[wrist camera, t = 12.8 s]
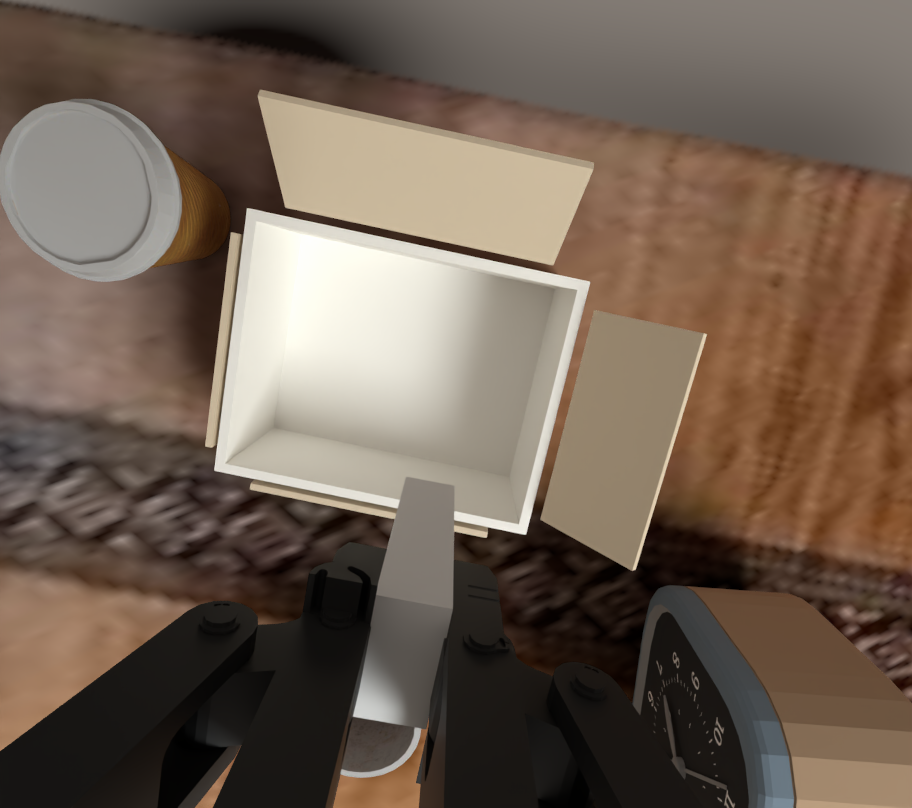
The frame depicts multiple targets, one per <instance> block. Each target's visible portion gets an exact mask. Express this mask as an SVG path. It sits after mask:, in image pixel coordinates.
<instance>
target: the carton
mask: <svg viewBox="0 0 912 808" xmlns="http://www.w3.org/2000/svg"><path fill="white" fill-rule="evenodd" d="M589 285H590V282H589V281H584V280H579V279H575V278H570V277H565V276H561V275H556V274H552V273H547V272H542V271H538V270H533V269H528V268H524V267H519V266H514V265H510V264H505V263H500V262H496V261H491V260H486V259H482V258H477V257H473V256H468V255H463V254H459V253H454V252H449V251H445V250H440V249H435V248H431V247H426V246H421V245H417V244H412V243H408V242H403V241H398V240H394V239H389V238H384V237H380V236H375V235H370V234H366V233H361V232H356V231H352V230H347V229H343V228H338V227H333V226H329V225H324V224H319V223H315V222H310V221H305V220H301V219H296V218H291V217H287V216H282V215H278V214H273V213H268V212H264V211H259V210H254V209H250V208H247V212H246V220H245V228H244V235H242V234H237V233H233V232H231V236H230V244H229V252H228V261H227V269H226V277H225V286H224V294H223V302H222V311H221V319H220V327H219V336H218V344H217V352H216V361H215V369H214V377H213V386H212V394H211V402H210V411H209V419H208V427H207V435H206V444H205V446H206V447H211V448H212V447H213V446H215V445H216V444H218V445H217V453H216V461H215V469H214V471H218V472H223V473H228V474H233V475H238V476H243V477H247V478H252V479H255V480H254V481H253V482H252V483H251V485H250V489H251V490H256V491H260V492H265V493H270V494H275V495H280V496H285V497H290V498H294V499H299V500H304V501H309V502H314V503H319V504H324V505H328V506H333V507H338V508H343V509H348V510H353V511H358V512H362V513H367V514H372V515H377V516H382V517H387V518H392V519H395V517H396V513H397V509H398V505H399V501H400V497H401V494H402V490H403V486H404V482H405V478H406V477H411V478H416V479H422V480H427V481H432V482H437V483H442V484H448V485H453V486H455V496H454V531H455V532H459V533H464V534H469V535H474V536H479V537H484V538H487V534H488V527H490V528H495V529H499V530H504V531H509V532H514V533H519V534H524V535H526V533H527V529H528V525H529V521H530V517H531V513H532V509H533V506H534V502H535V498H536V494H537V490H538V486H539V482H540V478H541V474H542V470H543V466H544V462H545V458H546V454H547V450H548V446H549V443H550V439H551V435H552V431H553V427H554V423H555V419H556V415H557V411H558V407H559V403H560V399H561V395H562V391H563V387H564V383H565V380H566V376H567V372H568V368H569V364H570V360H571V356H572V352H573V348H574V344H575V340H576V336H577V332H578V328H579V324H580V321H581V317H582V313H583V309H584V305H585V301H586V297H587V293H588V289H589Z"/></svg>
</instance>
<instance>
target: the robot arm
mask: <svg viewBox="0 0 912 808" xmlns="http://www.w3.org/2000/svg"><path fill="white" fill-rule="evenodd" d="M454 496H455V486H453V485H448V484H442V483H437V482H432V481H427V480H422V479H416V478H411V477H406V478H405V482H404V486H403V490H402V494H401V497H400V501H399V505H398V509H397V513H396V517H395V520H394V524H393V528H392V532H391V536H390V540H389V543H388V547H387V549H384V548H379V547H373V546H368V545H363V544H357V543H352V542H349V543H348V544H346V545H345V546H343V547H341V548H340V549H338V550H337V552H336V554H335V557H334V559H333V561H332V562H330V563H324V564H321V565H319V566H317V567H315V568H314V569H313V570H312V571H311V572H310V573H309V577H308V583H307V589H306V595H305V602H304V608H303V613H302V615H301V617H300V618H298V619H296V620H294V621H290V622H287V623H281V624H267V625H258V617H257V615H256V614H255V613H254V611H253V610H252V609H250V608H249V607H247V606H245V605H243V604H240V603H235V602H231V601H213V602H209V603H205V604H200V605H198V606H196V607H194V608H192V609H191V610H189V611H187V612H186V613H184V614H183V615H182V616H180V617H179V618H178V619H176V620H175V621H174V622H172V623H171V624H170V625H168V626H167V627H166V628H164V629H163V630H162V631H160V632H159V633H158V634H156V635H155V636H154V637H152V638H151V639H150V640H148V641H147V642H146V643H144V644H143V645H142V646H140V647H139V648H138V649H136V650H135V651H134V652H132V653H131V654H130V655H128V656H127V657H126V658H124V659H123V660H122V661H120V662H119V663H118V664H116V665H115V666H114V667H112V668H111V669H110V670H108V671H107V672H106V673H104V674H103V675H102V676H100V677H99V678H98V679H96V680H95V681H94V682H92V683H91V684H90V685H88V686H87V687H86V688H84V689H83V690H81V691H80V692H79V693H77V694H76V695H75V696H73V697H72V698H71V699H69V700H68V701H67V702H65V703H64V704H63V705H61V706H60V707H59V708H57V709H56V710H55V711H53V712H52V713H51V714H49V715H48V716H47V717H45V718H44V719H43V720H41V721H40V722H39V723H37V724H36V725H35V726H33V727H32V728H31V729H29V730H28V731H27V732H25V733H24V734H23V735H21V736H20V737H19V738H17V739H16V740H15V741H13V742H12V743H11V744H9V745H8V746H7V747H5V748H4V749H3V750H1V751H0V808H195V807H196V805H197V804H198V803H199V802H200V800H201V799H202V798H203V797H204V795H205V794H206V793H207V792H208V790H209V789H210V788H211V787H212V785H213V784H214V783H215V781H216V780H217V779H218V778H219V776H220V775H221V774H222V773H223V771H224V770H225V769H226V768H227V766H228V765H229V764H230V763H231V761H232V760H233V759H234V758H235V756H236V754H237V752H238V750H239V748H240V746H241V748H240V750H239V752H238V754H237V756H236V758H235V761H234V763H233V765H232V767H231V769H230V772H229V774H228V776H227V778H226V780H225V782H224V785H223V787H222V789H221V791H220V793H219V795H218V798H217V800H216V802H215V804H214V806H213V808H333V804H334V800H335V795H336V791H337V787H338V783H339V778H340V774H341V770H342V765H343V761H344V757H345V752H346V748H347V744H348V740H349V735H350V730H351V724H352V719H353V717H358V718H364V719H370V720H375V721H381V722H387V723H393V724H398V725H404V726H410V727H415V728H421V729H426V727H427V723H428V718H429V727H428V732H427V736H426V740H425V745H424V749H423V754H422V758H421V763H420V767H419V772H418V776H417V781H416V783H419V784H421V788H420V801H419V808H704V807H703V806H702V804H701V803H700V801H699V800H698V799H697V797H696V796H695V794H694V793H693V791H692V790H691V788H690V787H689V786H688V784H687V783H686V781H685V780H684V778H683V777H682V775H681V774H680V772H679V771H678V770H677V768H676V767H675V765H674V764H673V762H672V761H671V759H670V758H669V757H668V755H667V754H666V752H665V751H664V749H663V748H662V746H661V745H660V744H659V742H658V741H657V739H656V738H655V736H654V735H653V733H652V732H651V731H650V729H649V728H648V726H647V725H646V723H645V722H644V720H643V719H642V718H641V716H640V715H639V713H638V712H637V710H636V709H635V707H634V706H633V705H632V703H631V702H630V700H629V699H628V697H627V696H626V694H625V693H624V691H623V690H622V689H621V687H620V686H619V685H618V684H617V683H616V682H615V681H614V679H613V678H612V677H611V676H609V675H608V674H606V673H605V672H603V671H602V670H600V669H598V668H596V667H594V666H591V665H588V664H585V663H578V662H568V663H562V664H561V665H560V666H558V667H557V668H555V672H554V675H553V676H550V675H548V674H545V673H543V672H541V671H538V670H536V669H534V668H532V667H530V666H528V665H526V664H524V663H523V662H522V661H520V660H519V659H517V658H516V653H515V649H514V646H513V644H512V642H511V640H510V639H509V638H508V637H507V636H506V635H505V634H504V631H503V623H502V616H501V608H500V603H499V593H498V585H497V578H496V577H495V576H494V574H493V573H492V572H491V570H490V569H489V568H488V567H487V566H483V565H478V564H473V563H467V562H462V561H457V560H454Z"/></svg>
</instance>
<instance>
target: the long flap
mask: <svg viewBox="0 0 912 808" xmlns="http://www.w3.org/2000/svg"><path fill="white" fill-rule="evenodd" d="M258 100H259V104H260V108H261V112H262V116H263V120H264V124H265V128H266V132H267V136H268V140H269V144H270V148H271V152H272V156H273V160H274V164H275V168H276V172H277V176H278V180H279V184H280V188H281V192H282V196H283V200H284V204H285V208H289V209H294V210H298V211H303V212H308V213H312V214H317V215H322V216H326V217H331V218H336V219H340V220H345V221H349V222H354V223H359V224H363V225H368V226H373V227H377V228H382V229H387V230H391V231H396V232H400V233H405V234H410V235H414V236H419V237H424V238H428V239H433V240H438V241H442V242H447V243H451V244H456V245H461V246H465V247H470V248H475V249H479V250H484V251H489V252H493V253H498V254H503V255H507V256H512V257H516V258H521V259H526V260H530V261H535V262H540V263H544V264H549V265H554V262H555V260H556V257H557V255H558V253H559V250H560V248H561V245H562V243H563V241H564V238H565V236H566V233H567V231H568V229H569V226H570V224H571V222H572V219H573V217H574V214H575V212H576V210H577V207H578V205H579V202H580V200H581V198H582V195H583V193H584V190H585V188H586V186H587V183H588V181H589V178H590V176H591V174H592V171H593V168H594V163H593V162H588V161H584V160H579V159H575V158H570V157H566V156H561V155H556V154H552V153H547V152H543V151H538V150H534V149H529V148H525V147H520V146H515V145H511V144H506V143H502V142H497V141H493V140H488V139H484V138H479V137H474V136H470V135H465V134H461V133H456V132H452V131H447V130H442V129H438V128H433V127H429V126H424V125H420V124H415V123H411V122H406V121H401V120H397V119H392V118H388V117H383V116H379V115H374V114H370V113H365V112H360V111H356V110H351V109H347V108H342V107H338V106H333V105H329V104H324V103H319V102H315V101H310V100H306V99H301V98H297V97H292V96H288V95H283V94H278V93H274V92H269V91H265V90H260V91H259V94H258Z"/></svg>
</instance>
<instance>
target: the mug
mask: <svg viewBox="0 0 912 808" xmlns="http://www.w3.org/2000/svg"><path fill="white" fill-rule="evenodd" d="M420 732H421V728H415V727H410V726H404V725H398V724H393V723H387V722H381V721H375V720H370V719H364V718H358V717H353V719H352V724H351V730H350V735H349V740H348V744H347V748H346V752H345V757H344V761H343V765H342V770H341V774H342V775H345V776H350V777H358V778H362V777H374V776H378V775H383V774H385V773H388V772H390V771H392V770H394V769H396V768H397V767H399V766H400V765H402V764H403V763H404V762H405V761H406V760H407V759H408V758H409V757H410V756H411V755H412V753H413V752H414V750H415V748H416V747H417V744H418V741H419V738H420Z"/></svg>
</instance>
